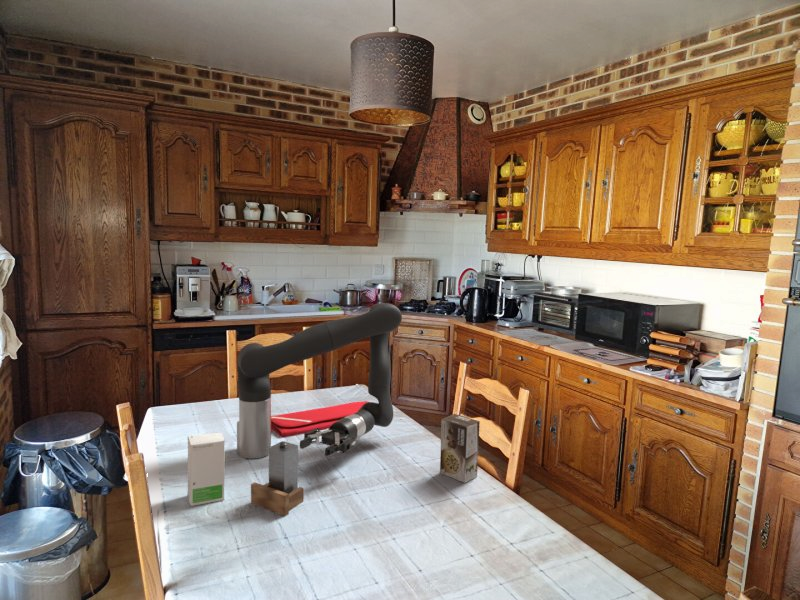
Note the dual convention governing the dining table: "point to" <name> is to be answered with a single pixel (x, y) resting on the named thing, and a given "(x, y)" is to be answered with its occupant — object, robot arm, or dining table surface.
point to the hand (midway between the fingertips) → (313, 449)
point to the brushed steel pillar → (283, 467)
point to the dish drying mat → (312, 419)
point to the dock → (275, 498)
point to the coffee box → (459, 447)
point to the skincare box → (206, 468)
